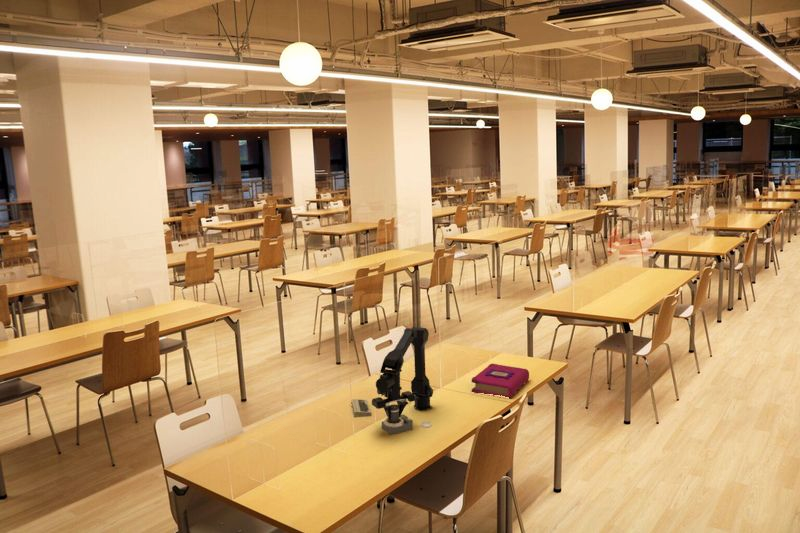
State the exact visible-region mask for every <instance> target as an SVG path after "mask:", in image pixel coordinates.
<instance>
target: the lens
mask: <svg viewBox="0 0 800 533" xmlns="http://www.w3.org/2000/svg"><path fill="white" fill-rule="evenodd" d="M389 406H391V418H390V420H389V423H394V424H395V423H399V406H398V404H394V403H393V404H389Z"/></svg>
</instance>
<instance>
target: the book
mask: <svg viewBox="0 0 800 533" xmlns="http://www.w3.org/2000/svg"><path fill="white" fill-rule="evenodd" d="M528 379H529V380H530V371H529V370H528V369H527V368H523V367H515V366H511V365H503V364H498V363H490V364H489V365H487V367H485V368H484V369H482V370H481V371H480V372H479V373H477V375H475V376H473V377H472V378H471V383H473V384H475V386H474V387H473V388H472V389H471V393H472V392H474V393H473V394H478V393H484V394H493V395H500V396H501V395H502V396H505V397H511V396H512V395H513V394H514V393H515V392H516V391H517V390H518V389H519V388H520V387H521V386H522V385H523V384H524V383H525V382H526V381H527V380H528ZM529 380H528V381H529ZM528 381H527V382H528ZM527 382H526V383H527ZM526 383H525V384H526ZM525 384H524V385H525ZM524 385H523V386H524ZM523 386H522V387H523ZM522 387H521V388H522ZM521 388H520V389H521ZM520 389H519V390H520ZM519 390H518V391H519ZM518 391H517V392H518ZM517 392H516V393H517ZM516 393H515V394H516ZM484 394H483V395H484ZM515 394H514V395H515ZM514 395H513V396H514ZM513 396H512V397H513ZM512 397H511V398H512Z"/></svg>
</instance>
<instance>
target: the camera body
mask: <svg viewBox="0 0 800 533" xmlns="http://www.w3.org/2000/svg"><path fill="white" fill-rule="evenodd" d="M413 424H414V423H413V419H411V418H410V417H408V416H407V415H405V413H404V414H403V413H402V414H401V416H400V418H399V423H395V424H394V423H389V419H388V417H386V418H385V419H384V421H381V429H382V431H384V432H386V433H387V434H388V435H390V436H392V435H397V434H401V433H405V432H409V431H412V430H413V428H414V427H413Z"/></svg>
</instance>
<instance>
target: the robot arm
mask: <svg viewBox="0 0 800 533" xmlns="http://www.w3.org/2000/svg"><path fill="white" fill-rule="evenodd" d="M429 335H430V334H429V330H428V328H426V327H422V326H421V327H419V326H412V327H411V328H410V327H406V328H405V329H404V330H403V334H402V336H401V337H400V339H399V341H398V343H397V344H396V345H395V347H394V349H393V350H391V351H389V352H388V353H387V354H386V356H385V357H384V359H383V362H382V365H381V368H380V373H381V374H380V375H379V378H377V380H376V382H375V387H376V393H377V395H381V396H382V397H383V396H384V397H385V398H382V397H379V396H378V397H375V398H372V399H371V405H372V406H373V407H374V408H376V409H377V410H379V409H383V410H384V412H385V415H386V418H388V419H389V420H390V418H391V406H389V405H390V403H394V402H396V405H398V406H399V418H400V416H401V415H402V414H403V411H404V410H405V408H406V406H407V405H408V404H409V403H411V402H414V405H413V407H414V408H415V409H417V410H418V411H420V412H421V411H426V410H430V409H433V407H432V406H431V398H432V397H433V395H434V389H433V388H432V387H431V385H430V383H431V382H430V380H429V378H428V376H427V375H426V350H425V349H426V348H425V346H426V344H427V342H428V341H429ZM411 344H412V346H413V357H414V360H413V361H414V377H413V379H412V380H411V381H410V384H411V385H410V390H411V391H410V390H406V391H403V392H401V390H403V389H402V388H403V387H402V386H401V372H403V369H402V368H403V365H404V360H405V359H404V356H405V355H406V353H407V351H408V349H409V348H410V346H411Z"/></svg>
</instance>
